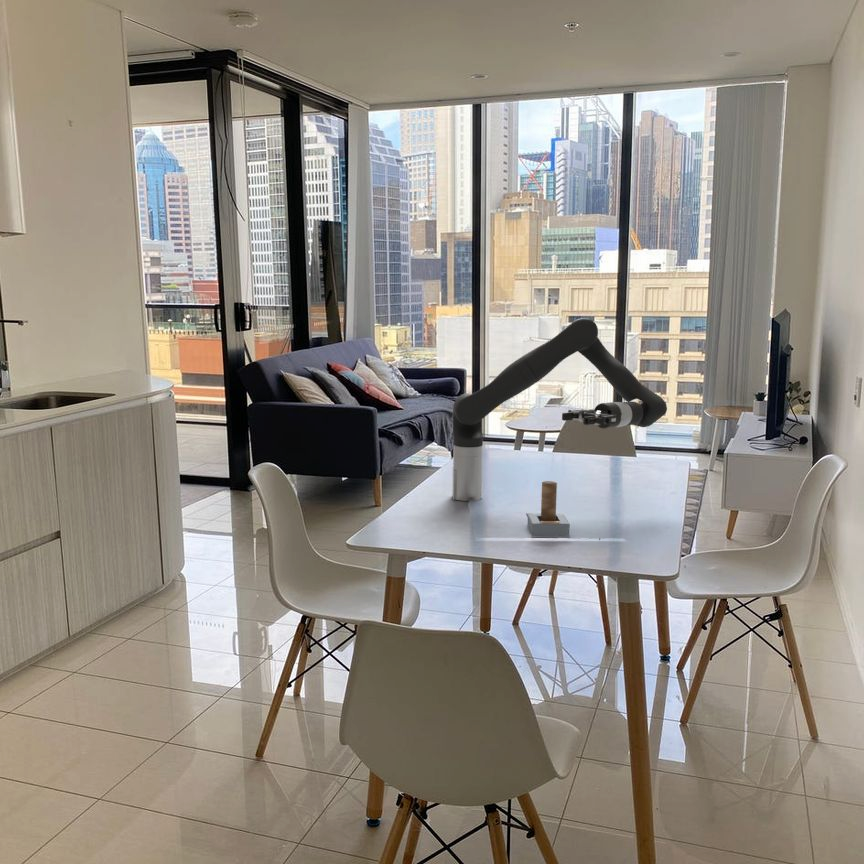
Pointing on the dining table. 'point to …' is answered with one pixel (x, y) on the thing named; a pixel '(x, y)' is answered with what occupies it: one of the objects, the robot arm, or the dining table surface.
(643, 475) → the dining table surface
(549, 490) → the walnut peg
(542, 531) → the socket block
